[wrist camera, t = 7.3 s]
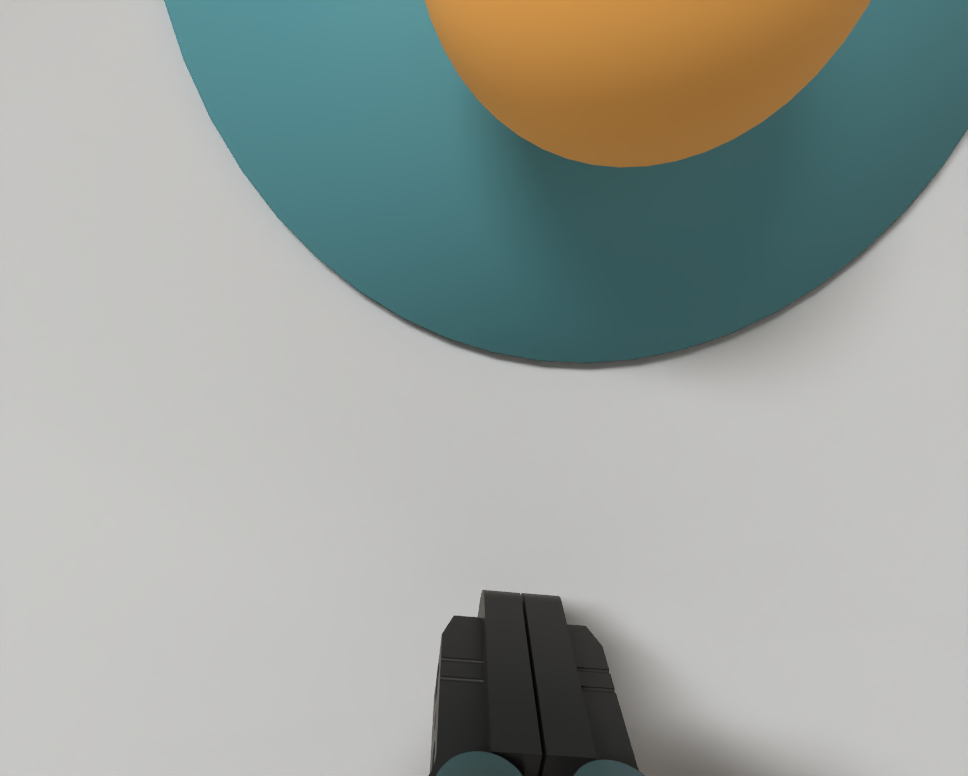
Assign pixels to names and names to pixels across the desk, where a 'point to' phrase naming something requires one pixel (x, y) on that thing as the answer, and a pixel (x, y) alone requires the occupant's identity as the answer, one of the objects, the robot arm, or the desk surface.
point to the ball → (638, 68)
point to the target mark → (566, 177)
